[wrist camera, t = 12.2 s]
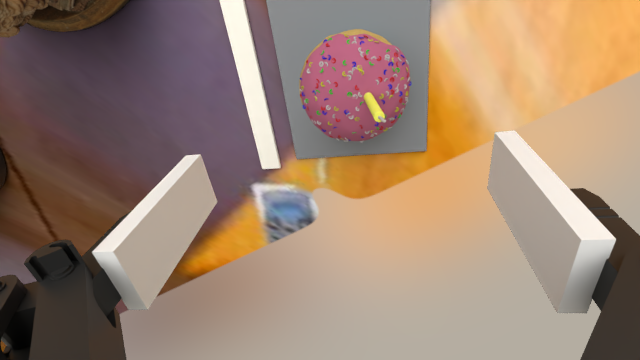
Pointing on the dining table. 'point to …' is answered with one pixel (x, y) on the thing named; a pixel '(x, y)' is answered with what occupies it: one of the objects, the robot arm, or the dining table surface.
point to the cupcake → (354, 85)
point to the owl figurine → (55, 14)
